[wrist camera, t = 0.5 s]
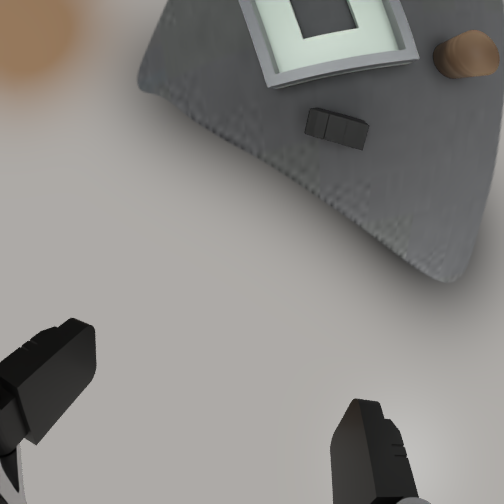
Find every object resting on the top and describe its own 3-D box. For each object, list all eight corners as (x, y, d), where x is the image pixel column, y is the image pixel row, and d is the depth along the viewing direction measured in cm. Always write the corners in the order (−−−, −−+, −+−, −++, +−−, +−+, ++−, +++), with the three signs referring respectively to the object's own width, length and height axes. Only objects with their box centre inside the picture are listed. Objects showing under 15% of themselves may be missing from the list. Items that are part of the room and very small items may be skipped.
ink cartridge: (312, 127, 31) (302, 135, 25) (317, 107, 30) (308, 108, 23) (358, 141, 31) (362, 152, 24) (363, 120, 30) (369, 125, 23)
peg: (428, 43, 24) (453, 30, 17) (461, 42, 22) (491, 30, 15) (438, 79, 25) (466, 76, 18) (470, 77, 24) (504, 74, 17)
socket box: (239, -21, 25) (224, -36, 21) (364, -49, 20) (367, -69, 16) (277, 89, 30) (267, 87, 26) (408, 64, 25) (419, 58, 21)
